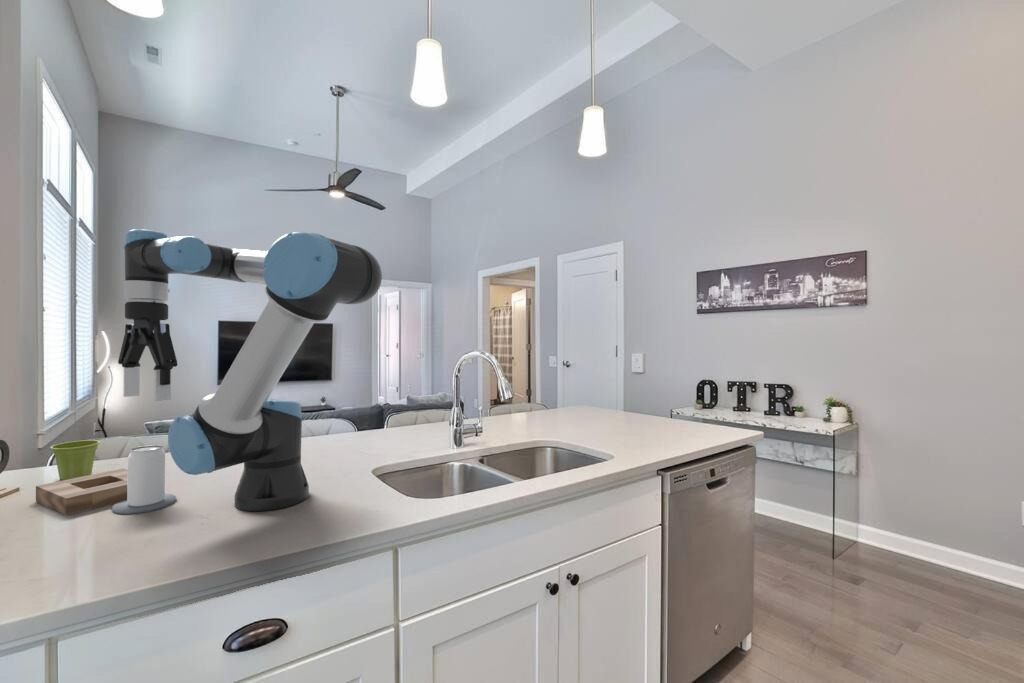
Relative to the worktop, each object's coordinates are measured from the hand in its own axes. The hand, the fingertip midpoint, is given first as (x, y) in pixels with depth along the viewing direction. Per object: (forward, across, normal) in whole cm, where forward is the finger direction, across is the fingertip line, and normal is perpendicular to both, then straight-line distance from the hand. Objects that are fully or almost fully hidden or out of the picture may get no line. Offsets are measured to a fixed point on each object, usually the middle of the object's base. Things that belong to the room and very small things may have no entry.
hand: (146, 398), depth 101 cm
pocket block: (+24, +15, +3) cm, 28 cm away
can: (+23, 0, 0) cm, 23 cm away
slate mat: (+24, 0, 0) cm, 24 cm away
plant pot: (+24, +39, -1) cm, 46 cm away
